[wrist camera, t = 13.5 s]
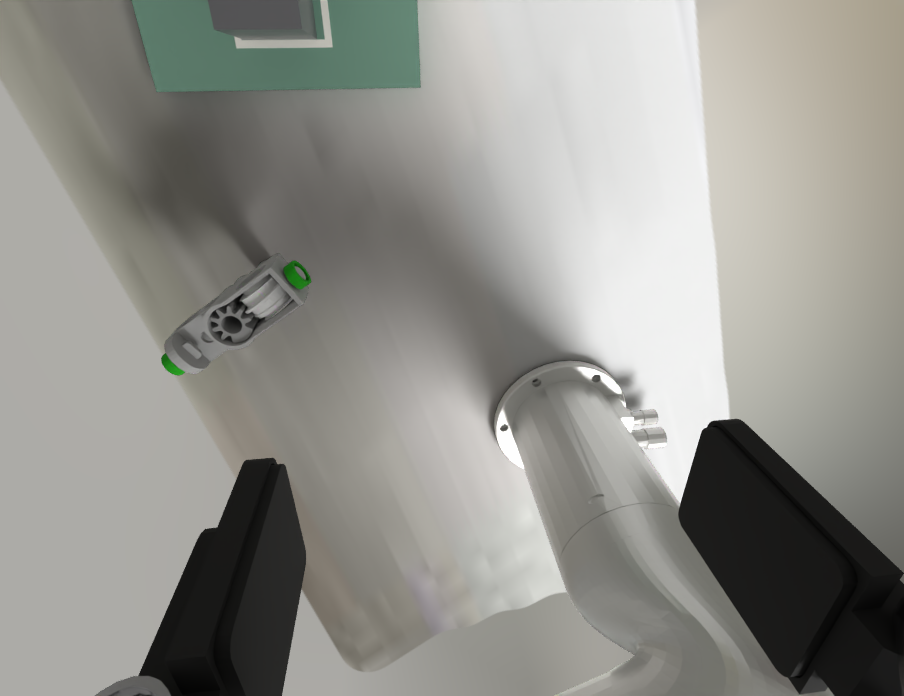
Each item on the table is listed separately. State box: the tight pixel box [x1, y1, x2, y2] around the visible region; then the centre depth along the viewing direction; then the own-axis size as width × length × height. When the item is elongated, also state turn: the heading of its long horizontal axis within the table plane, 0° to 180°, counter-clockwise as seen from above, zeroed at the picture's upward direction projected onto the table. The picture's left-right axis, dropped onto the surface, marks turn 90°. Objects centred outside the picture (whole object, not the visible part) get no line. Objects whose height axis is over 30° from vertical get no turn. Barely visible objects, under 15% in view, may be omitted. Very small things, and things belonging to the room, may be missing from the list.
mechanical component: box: [161, 253, 311, 375], centre depth 32 cm, size 3×10×10 cm, turn 123°
